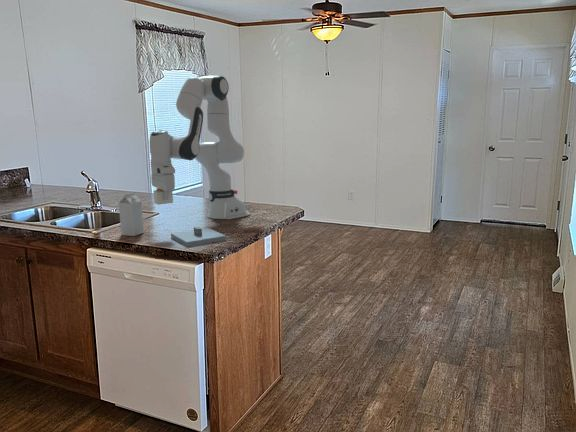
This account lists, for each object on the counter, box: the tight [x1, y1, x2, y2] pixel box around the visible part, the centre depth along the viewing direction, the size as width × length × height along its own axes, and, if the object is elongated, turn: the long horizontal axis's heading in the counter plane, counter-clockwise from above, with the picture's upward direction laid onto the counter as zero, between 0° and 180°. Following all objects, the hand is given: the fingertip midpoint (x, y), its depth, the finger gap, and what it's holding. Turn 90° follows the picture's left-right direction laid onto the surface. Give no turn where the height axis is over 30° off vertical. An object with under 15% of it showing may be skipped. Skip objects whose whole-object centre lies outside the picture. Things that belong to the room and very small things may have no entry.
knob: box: [152, 188, 174, 206], centre depth 227 cm, size 5×7×6 cm
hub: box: [170, 226, 227, 248], centre depth 222 cm, size 18×18×5 cm
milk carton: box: [118, 191, 145, 237], centre depth 231 cm, size 7×7×19 cm
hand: (163, 198), depth 228 cm, fingers closed on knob, 5 cm apart
